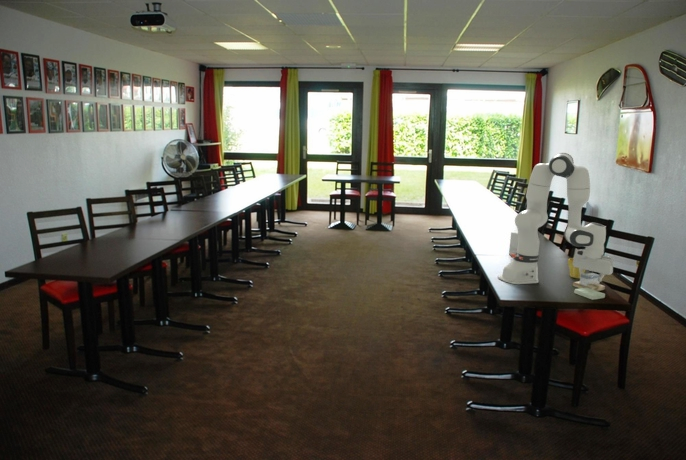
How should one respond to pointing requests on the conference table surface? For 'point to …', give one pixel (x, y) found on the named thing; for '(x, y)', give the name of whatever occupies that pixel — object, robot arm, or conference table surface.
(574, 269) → the plant pot
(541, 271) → the conference table surface
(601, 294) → the stand
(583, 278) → the housing
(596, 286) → the stand
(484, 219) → the conference table surface
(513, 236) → the supplement box
